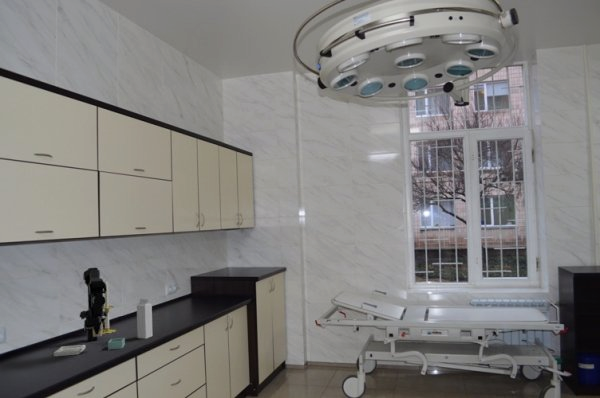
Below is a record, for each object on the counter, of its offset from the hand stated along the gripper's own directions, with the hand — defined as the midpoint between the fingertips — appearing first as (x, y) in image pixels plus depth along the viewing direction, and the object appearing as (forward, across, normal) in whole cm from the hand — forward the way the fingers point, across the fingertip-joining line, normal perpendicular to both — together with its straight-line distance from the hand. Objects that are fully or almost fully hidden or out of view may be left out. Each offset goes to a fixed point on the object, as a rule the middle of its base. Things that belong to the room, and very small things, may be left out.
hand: (97, 333), depth 244 cm
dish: (+9, 0, -14) cm, 16 cm away
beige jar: (+1, 0, 0) cm, 1 cm away
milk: (+9, -20, +21) cm, 30 cm away
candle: (+9, -42, -5) cm, 43 cm away
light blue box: (+9, -2, +9) cm, 13 cm away
